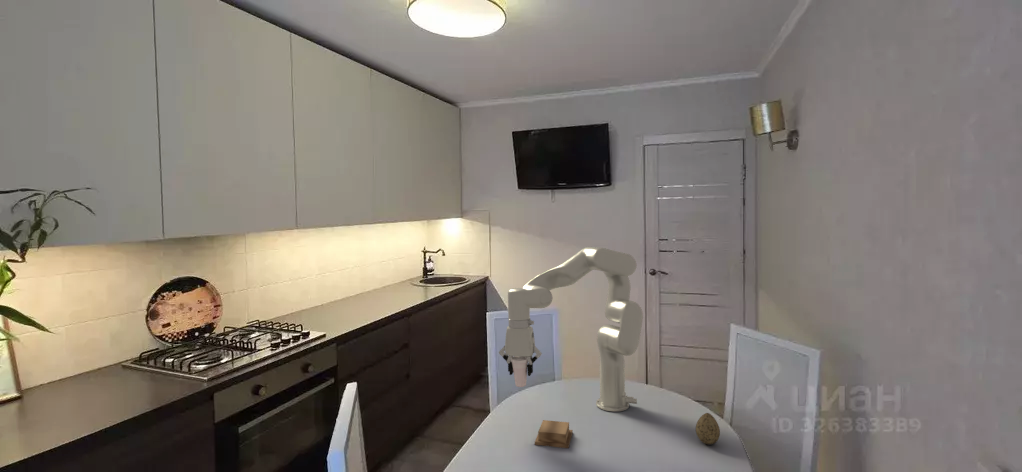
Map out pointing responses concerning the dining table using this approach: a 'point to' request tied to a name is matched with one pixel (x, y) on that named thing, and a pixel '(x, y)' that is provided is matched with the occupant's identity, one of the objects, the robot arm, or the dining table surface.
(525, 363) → the smoothie
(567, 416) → the dining table surface
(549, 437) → the pedestal
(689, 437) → the dining table surface
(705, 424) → the decorative egg
